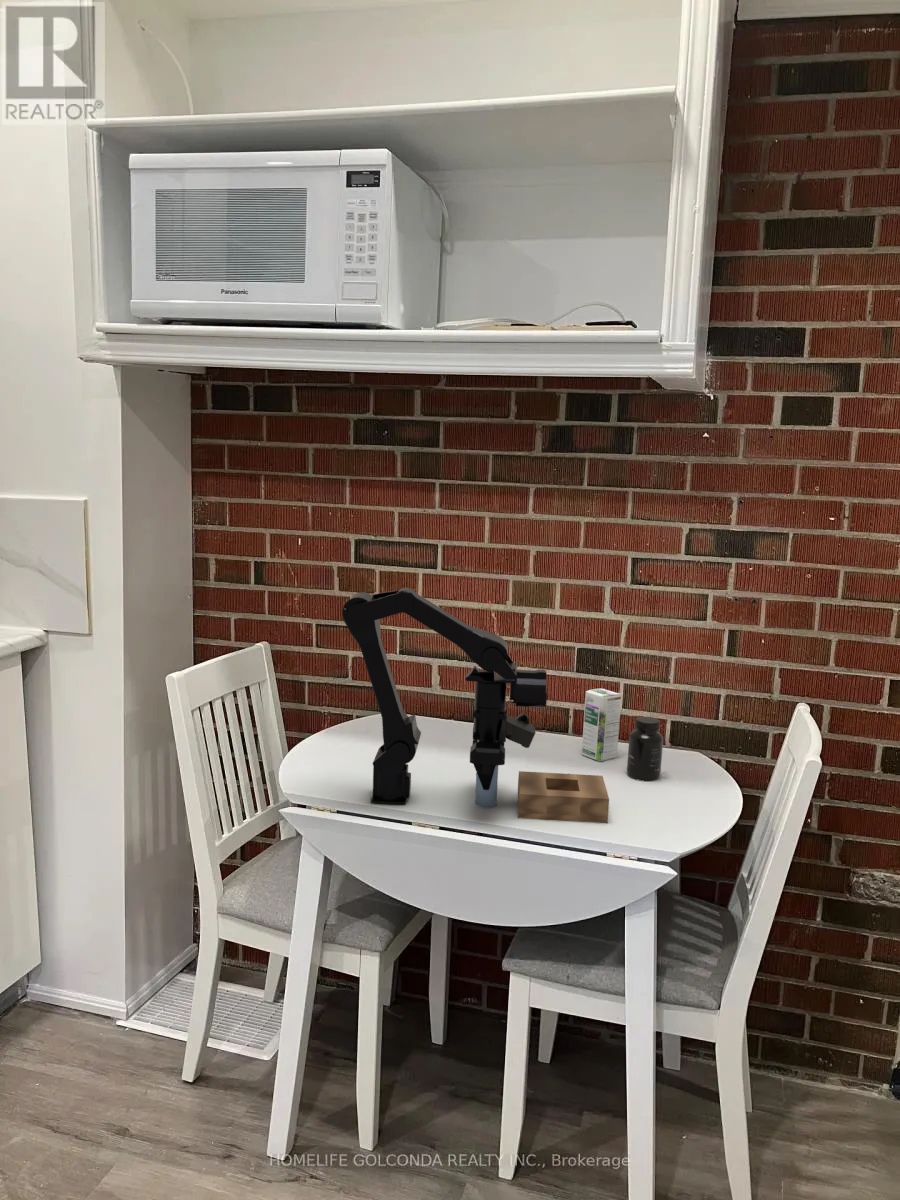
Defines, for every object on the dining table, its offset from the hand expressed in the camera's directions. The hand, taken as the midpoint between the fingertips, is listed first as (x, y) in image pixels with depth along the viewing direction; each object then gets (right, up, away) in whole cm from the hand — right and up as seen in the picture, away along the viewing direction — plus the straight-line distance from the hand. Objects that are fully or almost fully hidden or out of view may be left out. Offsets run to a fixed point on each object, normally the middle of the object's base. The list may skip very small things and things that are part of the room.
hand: (486, 785), depth 177 cm
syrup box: (+26, 0, +30) cm, 39 cm away
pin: (0, -4, +1) cm, 4 cm away
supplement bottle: (+33, -2, +19) cm, 38 cm away
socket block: (+14, -4, 0) cm, 14 cm away
